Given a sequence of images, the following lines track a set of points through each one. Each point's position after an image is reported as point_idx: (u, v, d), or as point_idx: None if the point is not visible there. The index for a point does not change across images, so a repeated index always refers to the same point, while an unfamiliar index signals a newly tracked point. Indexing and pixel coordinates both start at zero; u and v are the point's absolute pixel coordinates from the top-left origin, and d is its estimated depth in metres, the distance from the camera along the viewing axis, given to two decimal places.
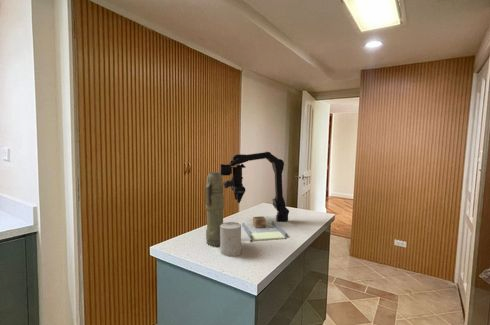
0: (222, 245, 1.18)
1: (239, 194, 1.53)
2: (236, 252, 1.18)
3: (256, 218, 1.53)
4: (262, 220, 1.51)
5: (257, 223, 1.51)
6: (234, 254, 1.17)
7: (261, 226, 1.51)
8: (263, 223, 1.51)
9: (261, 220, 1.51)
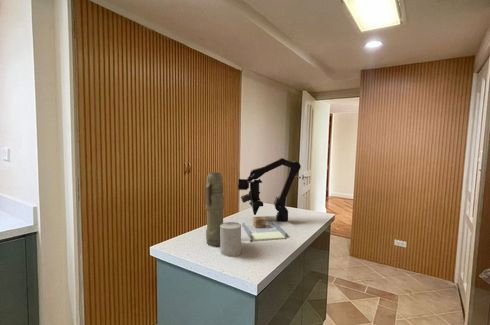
0: (222, 245, 1.18)
1: (255, 207, 1.64)
2: (236, 252, 1.18)
3: (256, 218, 1.53)
4: (262, 220, 1.51)
5: (257, 223, 1.51)
6: (234, 254, 1.17)
7: (261, 226, 1.51)
8: (263, 223, 1.51)
9: (261, 220, 1.51)
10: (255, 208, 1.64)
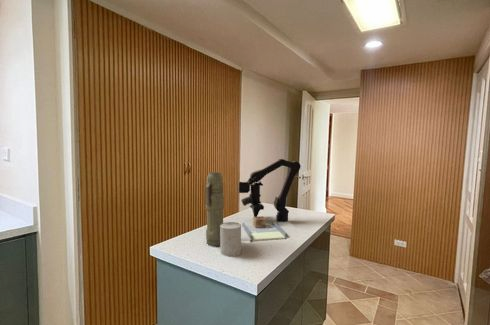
0: (222, 245, 1.18)
1: (256, 210, 1.62)
2: (236, 252, 1.18)
3: (256, 218, 1.53)
4: (262, 220, 1.51)
5: (257, 223, 1.51)
6: (234, 254, 1.17)
7: (261, 226, 1.51)
8: (263, 223, 1.51)
9: (261, 220, 1.51)
10: (256, 211, 1.62)
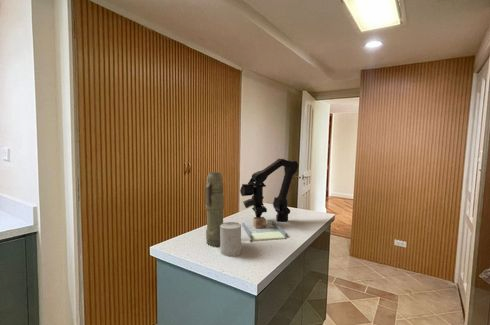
0: (222, 245, 1.18)
1: (258, 212, 1.56)
2: (236, 252, 1.18)
3: (256, 218, 1.52)
4: (262, 220, 1.50)
5: (257, 224, 1.50)
6: (234, 254, 1.17)
7: (261, 226, 1.50)
8: (263, 223, 1.51)
9: (261, 220, 1.50)
10: (258, 214, 1.56)
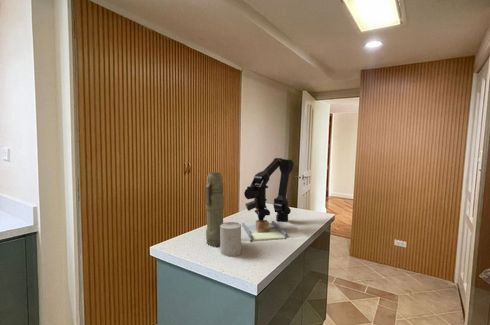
0: (222, 245, 1.18)
1: None
2: (236, 252, 1.18)
3: (258, 222, 1.46)
4: (265, 224, 1.44)
5: (259, 228, 1.44)
6: (234, 254, 1.17)
7: (264, 230, 1.44)
8: (266, 227, 1.44)
9: (264, 224, 1.44)
10: (261, 217, 1.50)
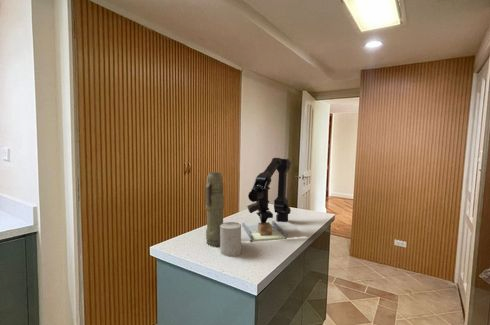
0: (222, 245, 1.18)
1: (263, 217, 1.45)
2: (236, 252, 1.18)
3: (261, 224, 1.41)
4: (268, 227, 1.39)
5: (262, 230, 1.39)
6: (234, 254, 1.17)
7: (267, 233, 1.39)
8: (269, 230, 1.40)
9: (267, 227, 1.39)
10: (263, 219, 1.45)
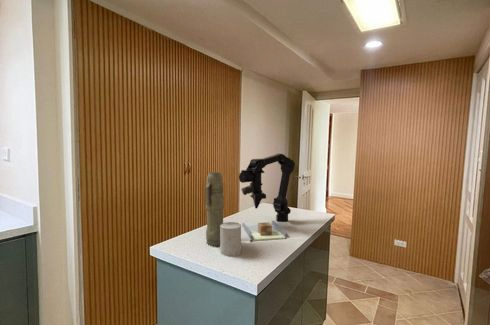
0: (222, 245, 1.18)
1: (257, 199, 1.51)
2: (236, 252, 1.18)
3: (261, 224, 1.41)
4: (268, 227, 1.39)
5: (262, 230, 1.39)
6: (234, 254, 1.17)
7: (267, 233, 1.39)
8: (269, 230, 1.40)
9: (267, 227, 1.39)
10: (257, 201, 1.51)
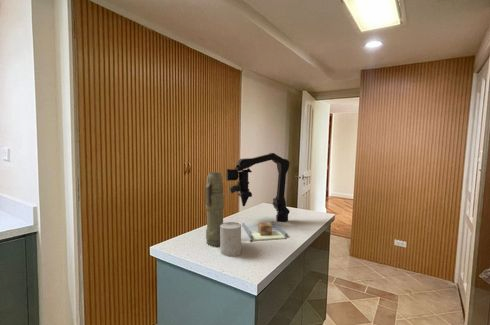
0: (222, 245, 1.18)
1: (244, 198, 1.57)
2: (236, 252, 1.18)
3: (261, 224, 1.41)
4: (268, 227, 1.39)
5: (262, 230, 1.39)
6: (234, 254, 1.17)
7: (267, 233, 1.39)
8: (269, 230, 1.40)
9: (267, 227, 1.39)
10: (244, 199, 1.57)
